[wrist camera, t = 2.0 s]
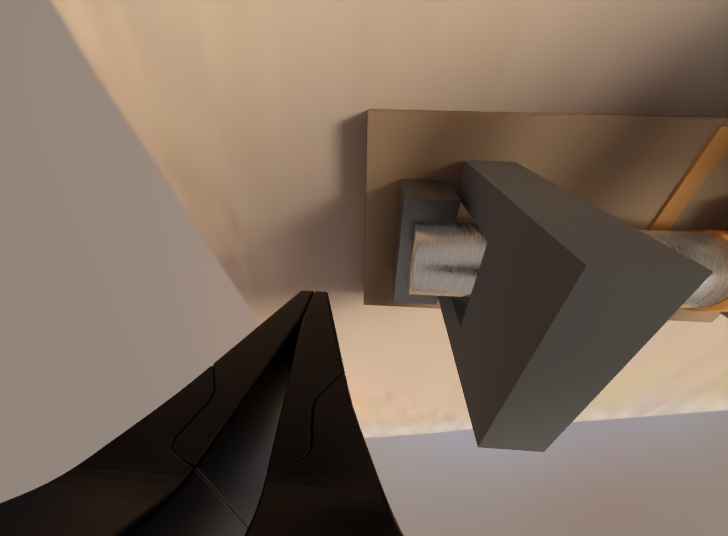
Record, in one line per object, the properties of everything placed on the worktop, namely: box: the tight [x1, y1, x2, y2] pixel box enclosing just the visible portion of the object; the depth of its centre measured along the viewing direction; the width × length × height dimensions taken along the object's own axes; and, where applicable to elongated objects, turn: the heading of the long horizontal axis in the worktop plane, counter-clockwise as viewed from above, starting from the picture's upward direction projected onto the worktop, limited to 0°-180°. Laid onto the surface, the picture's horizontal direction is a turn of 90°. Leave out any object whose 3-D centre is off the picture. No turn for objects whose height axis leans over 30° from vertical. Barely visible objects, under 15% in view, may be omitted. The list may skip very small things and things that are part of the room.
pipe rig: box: [392, 179, 728, 318], centre depth 11 cm, size 17×5×4 cm, turn 89°
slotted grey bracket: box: [438, 160, 714, 452], centre depth 9 cm, size 2×7×8 cm, turn 179°
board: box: [364, 109, 728, 322], centre depth 13 cm, size 20×10×2 cm, turn 89°
